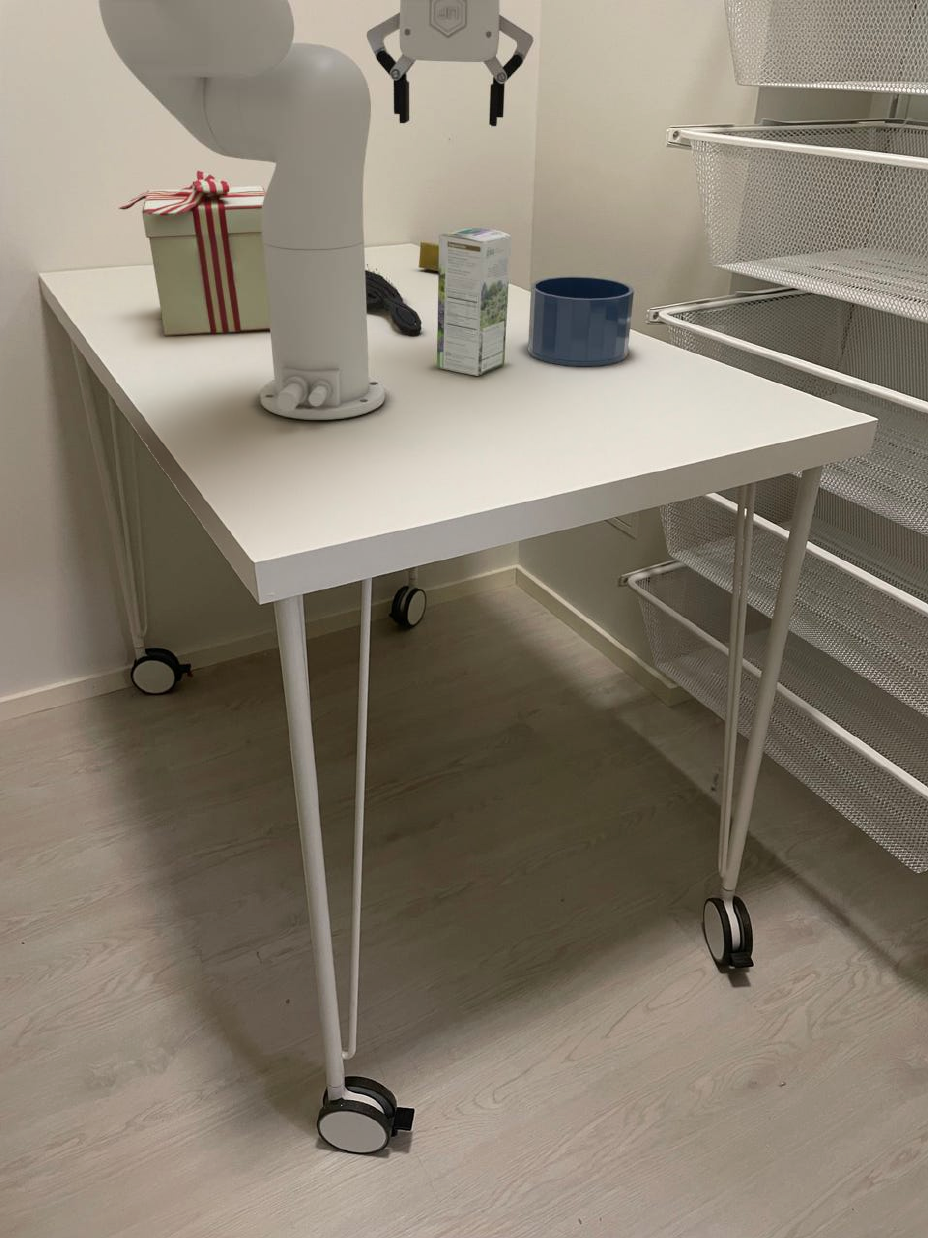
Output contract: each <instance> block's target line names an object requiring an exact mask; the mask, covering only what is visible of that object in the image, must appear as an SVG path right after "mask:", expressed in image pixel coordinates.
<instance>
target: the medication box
mask: <svg viewBox="0 0 928 1238" xmlns="http://www.w3.org/2000/svg"><path fill="white" fill-rule="evenodd" d="M419 246H420V247H419V259H418V260H419V261H418V268H419V269H420V268H421V269H426V270H431V271H435V272H438V271H439V242H435V241H420V244H419Z"/></svg>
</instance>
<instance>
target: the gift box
mask: <svg viewBox="0 0 928 1238" xmlns="http://www.w3.org/2000/svg"><path fill="white" fill-rule="evenodd" d="M196 179H197V180H194V181H192V184H190V185H189V186H187V187H184V188H171V189H148V190H147V191H146V192H143V193H141V194H139V195H138V196H135V197H133V198H132V199H131V200H129V201H127V202H126V203H125V204H124V205H122V206H120V207H118V209H119V210H128V209H131V208H132V207H133V206H134V205H136V203H138V202H140V201H142V200H144V202H143V206H142V211H141V214H142V221H143V227H144V233H145V234H144V235H145V238H147V239H148V240H149V245H150V251H151V258H152V264H153V270H154V276H155V277H154V278H155V284H156V288H157V294H158V301H159V306H160V313H161V320H162V326H163V330H164V332H163V333H164V336H165V337H171V336H184V335H185V336H187V335H199V334H200V335H202V334H219V333H220V334H221V333H233V332H235V333H236V332H237V333H238V332H246V331H267V330H268V331H269V330H270V322H269V310H268V299H267V287H266V276H265V264H264V253H263V242H262V233H261V210H262V204H263V200H264V197H265V194H266V190H265V189H264V186H262V185H249V186H248V185H246V186H230V185H229V184H228V182H227V181H225V180H222V179H219V178H217V177H215V176H213V175H212V174H210V173H207V172H204V171H200V170H197V171H196Z"/></svg>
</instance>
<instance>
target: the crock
mask: <svg viewBox="0 0 928 1238" xmlns="http://www.w3.org/2000/svg"><path fill="white" fill-rule="evenodd" d="M634 294H635V290H634V287H633V286H631V285H630V284H628V283H625V282H622V281H619V280H614V279H610V278H603V277H596V276H595V277H593V276H578V275H577V276H576V275H575V276H573V275H572V276H571V275H570V276H555V277H547V278H543V279H539V280H536V281H534V282H533V283H531V286H530V298H529V300H530V301H529V321H528V322H529V323H528V340H527V341H528V342H527V348H528V349H527V351H528V354H529V355H530V356H532V357H533V358H535V359H538V360H540V361H543V362H546V363H549V364H554V365H560V366H568V367H569V366H570V367H601V366H607V365H613V364H617V363H619V362H621V361H623V360H625V359H626V358H627V356H628V351H629V342H630V333H631V324H632V314H633V306H634V305H633V304H634V296H635V295H634Z"/></svg>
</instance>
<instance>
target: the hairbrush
mask: <svg viewBox="0 0 928 1238" xmlns="http://www.w3.org/2000/svg"><path fill="white" fill-rule="evenodd" d="M366 266H367V268H368V270H367V269H365V282H366V310H379V309H380V310H382V309H386V310H387V311H388V312H389V314H390V318H391V321H392V323H393V324H394V325H395V326H396V327H397V328H398V330H399V331H400V332H401V333H403V334H405V335H407V336H411V337H415V336H419V335H420V333H421V331H422V324H423V323H422V320H421V318H420V316H419V314H418V312H417V311H416V310H414V309H412V308H411V306H409V305H407V304H406V303H405V302H404V299H403V297H402V295H401V293H400V292H399V290H398V289H397V288H396V286H395V285H394V284H393V283H392V282H391V283H390V280H388V278H387V277H386V278H384V276H383V275H381V274H380V273H379V271H378V272H377V273H376V272H375V271H377V270H378V269H377V268H375V271H374V270H372V271H371V270H370V269H371V268H369V264H368V263H367V264H366Z"/></svg>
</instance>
